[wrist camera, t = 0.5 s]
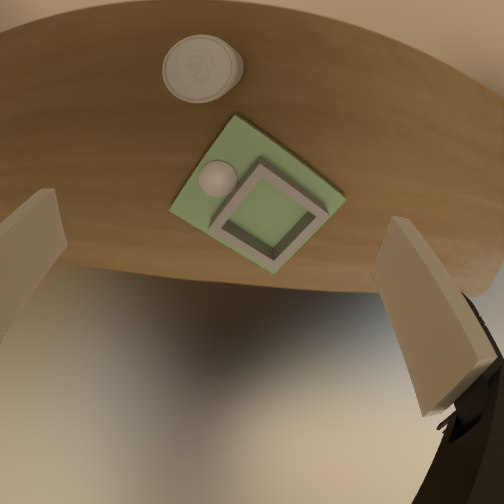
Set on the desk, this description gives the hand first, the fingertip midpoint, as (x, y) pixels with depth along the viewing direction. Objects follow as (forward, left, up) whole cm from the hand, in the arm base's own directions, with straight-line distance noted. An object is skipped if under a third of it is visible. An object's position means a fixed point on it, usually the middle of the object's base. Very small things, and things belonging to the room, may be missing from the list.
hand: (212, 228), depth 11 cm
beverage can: (-5, +3, -22) cm, 23 cm away
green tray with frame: (+6, -6, -22) cm, 24 cm away
